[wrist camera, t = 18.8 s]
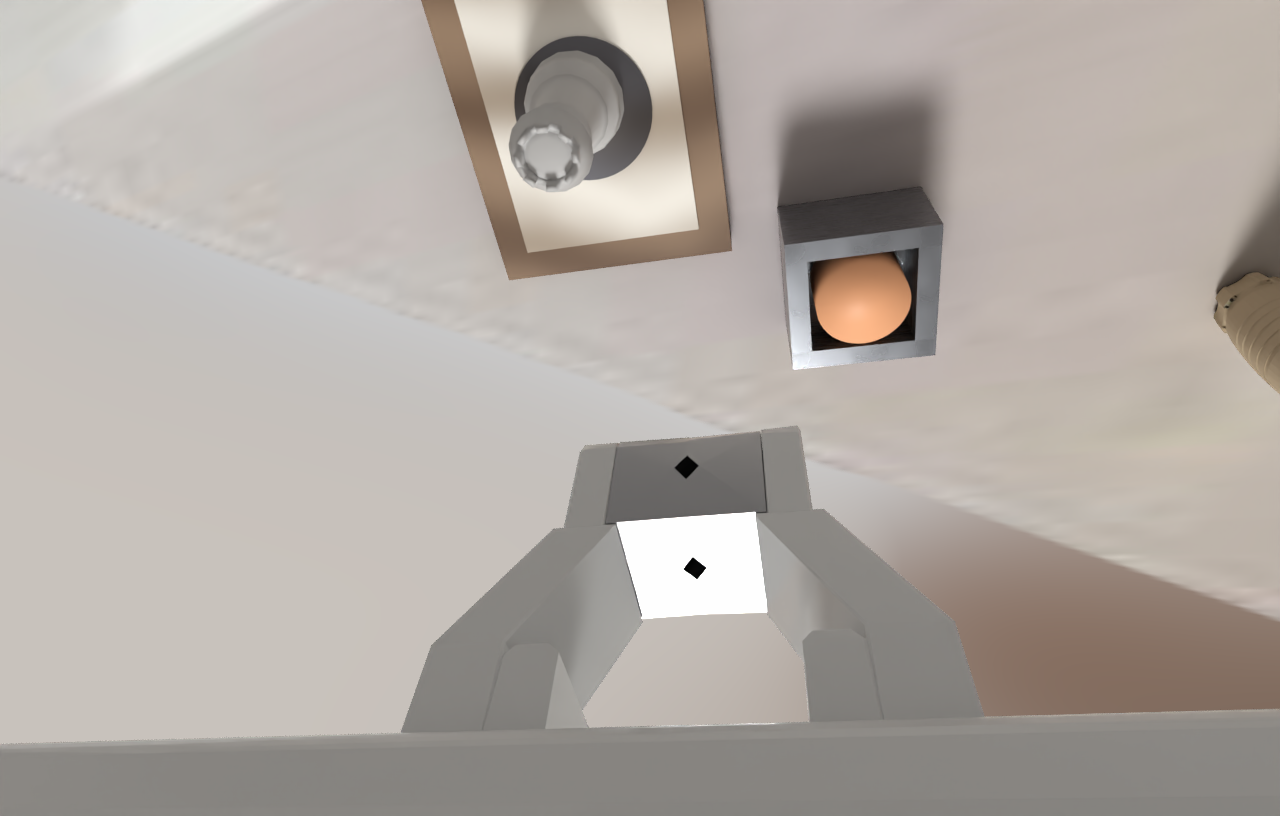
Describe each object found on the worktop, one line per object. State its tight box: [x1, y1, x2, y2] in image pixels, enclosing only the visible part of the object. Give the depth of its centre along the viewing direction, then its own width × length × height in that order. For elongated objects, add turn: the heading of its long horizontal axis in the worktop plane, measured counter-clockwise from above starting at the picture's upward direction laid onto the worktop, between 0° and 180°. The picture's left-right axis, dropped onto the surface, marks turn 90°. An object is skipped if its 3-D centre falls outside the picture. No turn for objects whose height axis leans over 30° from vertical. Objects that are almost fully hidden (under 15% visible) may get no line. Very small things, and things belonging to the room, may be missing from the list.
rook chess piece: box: [508, 50, 624, 192], centre depth 31 cm, size 4×4×8 cm
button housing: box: [777, 187, 943, 370], centre depth 38 cm, size 7×7×4 cm
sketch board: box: [421, 0, 732, 280], centre depth 35 cm, size 16×12×2 cm
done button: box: [810, 251, 911, 344], centre depth 37 cm, size 4×4×3 cm
